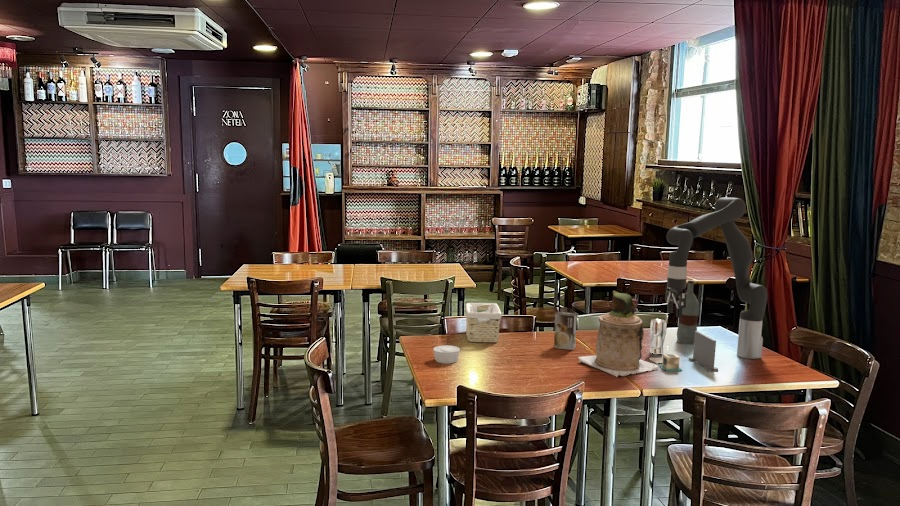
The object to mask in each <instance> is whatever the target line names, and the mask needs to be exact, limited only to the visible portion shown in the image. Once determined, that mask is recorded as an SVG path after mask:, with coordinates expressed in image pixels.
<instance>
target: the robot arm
mask: <svg viewBox="0 0 900 506" xmlns="http://www.w3.org/2000/svg"><path fill="white" fill-rule="evenodd" d="M746 207H747V206H746V203H745V201H744V200H743V199H742V198H739V197H724V196H723V197H720V198H718V199H716V201H715V205H714V211H713V212H710V213H706V214H702V215H700V216H697V217H695V218H693V219H691V220H690V221H689V222H685V223H681V224H680V225H679V224H678V225H675V226H673V227H671V228H670V229H669V230H668V231H667V233H666V240H667V243H669V244H670V245H672V246H678V247H677V249H676V250H673V251H670V253H669V255H668V256H669V257H668V268H667V278H666V287H665V295H664V301H665V302H666V304H667V308H666V312H667V314H673V312H674V304H675V307H676V312H675V317H676V318H678V319H679V318H681V317H682V309H683V308H686V293H684V292H683V291H684V290H685V289H686V288H687V277H688V269H687V267H688V256H689V255H690V254H689V253H690V250H691V247H692V245H693V241H694V238H698V237H700V236H701V235H703V234H705V233H707V232H709V231H711V230H713V229H714V228H717V227H718V226H720V228H721V230H722V231H721V232H722V234H723V237H724V241H725V244H726V247H727V252H728V255H729V259H730V262H731V265H732V270H733V274H734V278H735V279H734V280H735V285H736V286H735V287H736V291H737V295H738V298H739V300H740V301H741V302H743V303H745V304H749V307H748V309H747V310H746V309H745V310H741V312H740V314H739V324H738V338H737V348H736V355H737V356H738V357H740V358H743V359H749V360H757V359H762V354H763V353H762V351H763V342H764V338H763V336H762V330H763V319H764V315H765V313H766V308H767V301H768V290H767V288H766V287H765V286H764V285H762V284H758V283H753V282H752V280H751V277H750V273H749V272H750V271H749V270H750V267H751V264H752V262H753V260H754V259H753V258H754V256H753V251H752V246H751V244H750V241H749V239H747V237H746V236H745V235H744V233H743V232H742V231H741V230H740V229H739V227H738V226H737V224H736V223H735V220H738V219H740V218H742V217H743V216H744V215H745V213H746V211H747V210H746ZM683 302H684V304H683Z"/></svg>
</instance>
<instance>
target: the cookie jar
mask: <svg viewBox="0 0 900 506" xmlns="http://www.w3.org/2000/svg"><path fill="white" fill-rule="evenodd" d="M612 295H613V296H612V300H611V303H612V305H613V306H612V307H613V309H612V310H611V311H610V312H608V313H605V314H602V315H599V316H598V322H599V327H598V332H597V337H596V341H595V352H596V355H587V356H586V355H585V356H578V360H579V364H581V363H583V364H586V365H587V366H590V367H592V368H595V369H598V370H600V371H603V372H605V373H608V374H609V375H611V376H613V375H614V376H613V377H615V376H616V377H615V378H617V377H619V376H621V377H626V376H628V375H637V374H642V373H646V371H648V372H653V371H652V370H654V371H656V370H655V369H657V370H658V369H659V364H655V363H654V362H653V363H652V362H649V361H646V360H643V359H642V355H643V354H642V350H643V344H642V343H643V342H642V341H643V339H644V333H645V331H644V322H643V320H642V318H640V317H639V316H638V315H636V314H635V311H634V309H637V307H638V300H637V299H635V298H633V297H632V296H631V295H630V294H629V293H625V292H624V293H621V292H618V291H616V290H613V291H612ZM636 373H637V374H636Z"/></svg>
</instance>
